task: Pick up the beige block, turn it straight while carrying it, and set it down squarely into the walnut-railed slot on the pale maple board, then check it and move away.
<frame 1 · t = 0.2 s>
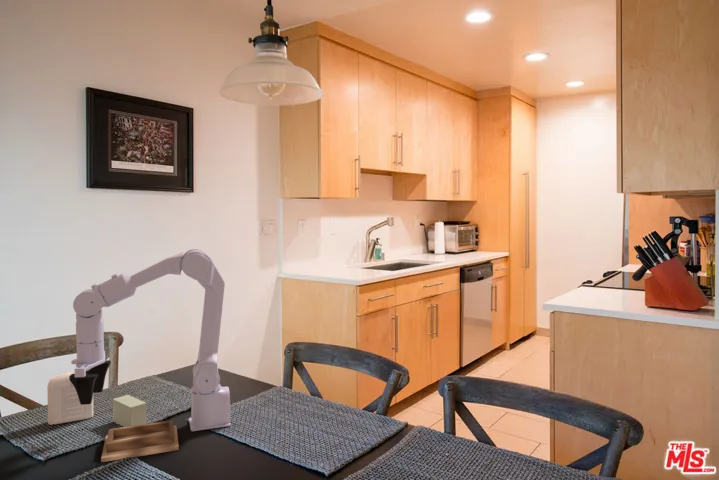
hand: (91, 397, 120), 10 cm above the table, tool pointing down, fingers open, 7 cm apart
slot board: (141, 443, 118), on the table
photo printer: (71, 420, 131), on the table
beige block: (129, 424, 129), on the table
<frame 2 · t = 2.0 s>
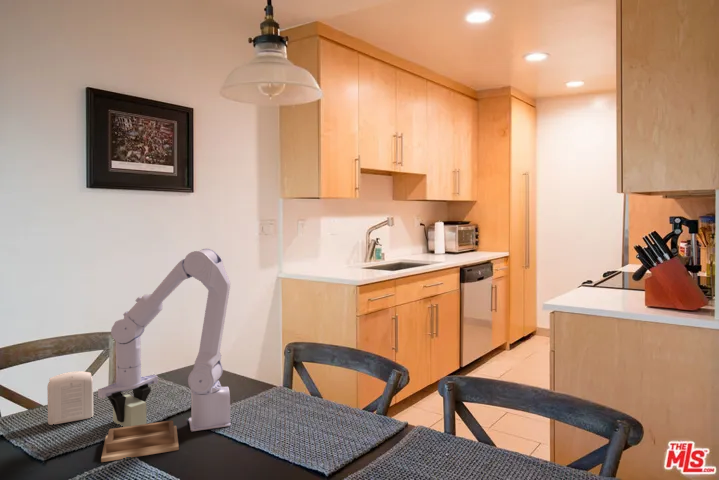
hand: (129, 418, 129), 1 cm above the table, tool pointing down, fingers closed on beige block, 4 cm apart
beige block: (129, 423, 129), on the table, touching gripper
everything else where it was.
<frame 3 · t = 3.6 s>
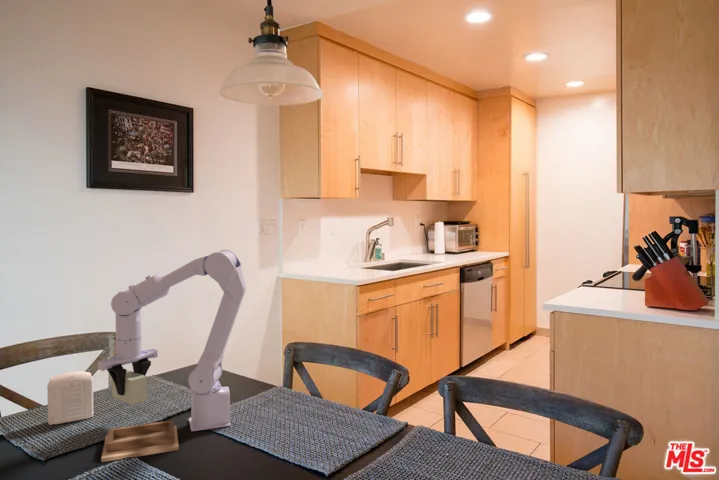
hand: (129, 391, 128), 8 cm above the table, tool pointing down, fingers closed on beige block, 4 cm apart
beige block: (129, 398, 128), point 7 cm above the table, touching gripper
everything else where it was.
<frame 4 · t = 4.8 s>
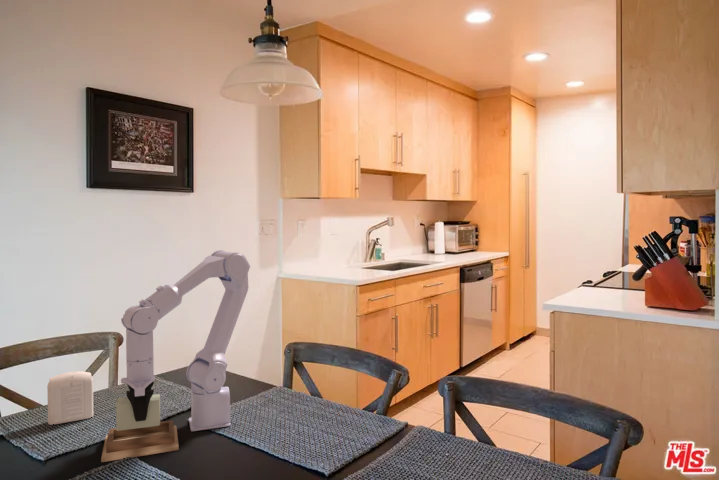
hand: (140, 416, 118), 6 cm above the table, tool pointing down, fingers closed on beige block, 4 cm apart
beige block: (139, 424, 118), point 4 cm above the table, touching gripper
everything else where it was.
when the fingers open (4 cm above the table, at t = 5.6 s): beige block drops 1 cm, resting on slot board.
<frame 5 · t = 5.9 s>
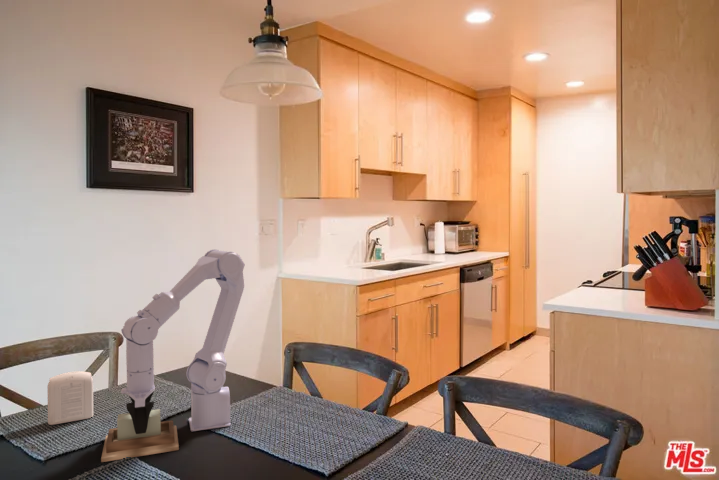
hand: (141, 426, 118), 4 cm above the table, tool pointing down, fingers open, 6 cm apart
beige block: (139, 440, 118), point 1 cm above the table, touching slot board
everything else where it was.
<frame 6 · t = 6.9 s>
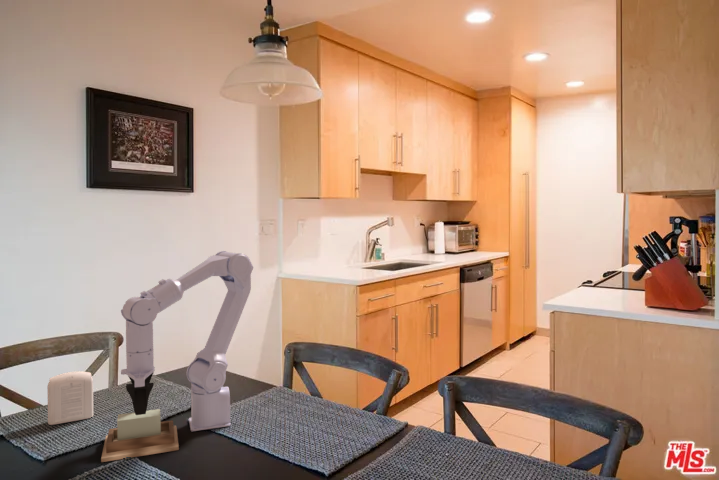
hand: (141, 407, 118), 8 cm above the table, tool pointing down, fingers open, 7 cm apart
nothing on the table moved.
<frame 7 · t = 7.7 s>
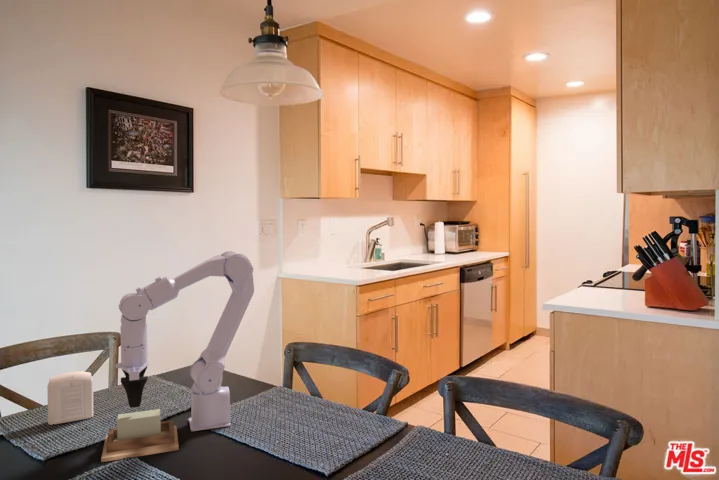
hand: (135, 401, 121), 9 cm above the table, tool pointing down, fingers open, 7 cm apart
nothing on the table moved.
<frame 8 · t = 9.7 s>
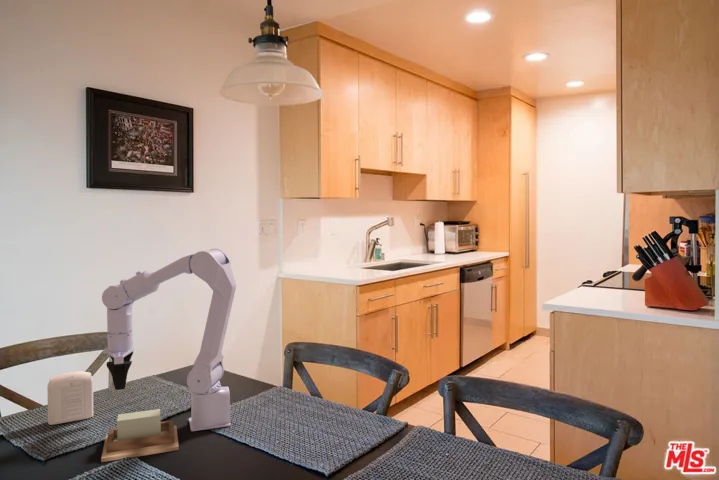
hand: (121, 384, 131), 9 cm above the table, tool pointing down, fingers open, 7 cm apart
nothing on the table moved.
at the end: beige block 0.4 cm off-centre on the slot board, point 0.8 cm above the slot board's base; beige block tilted 0°; the gripper is holding nothing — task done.
